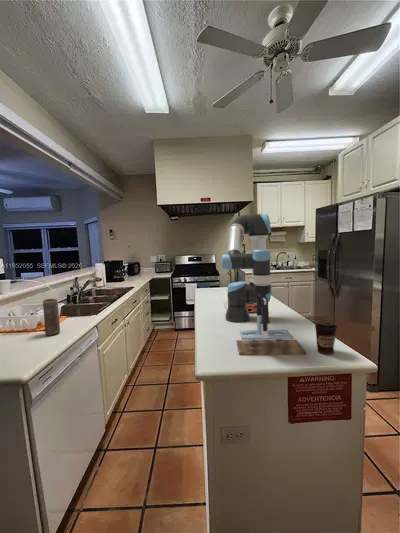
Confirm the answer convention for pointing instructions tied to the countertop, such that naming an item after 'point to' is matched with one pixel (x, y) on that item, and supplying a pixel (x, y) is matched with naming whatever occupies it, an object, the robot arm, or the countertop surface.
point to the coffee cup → (325, 336)
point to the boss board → (269, 347)
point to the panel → (271, 333)
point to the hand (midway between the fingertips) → (262, 333)
